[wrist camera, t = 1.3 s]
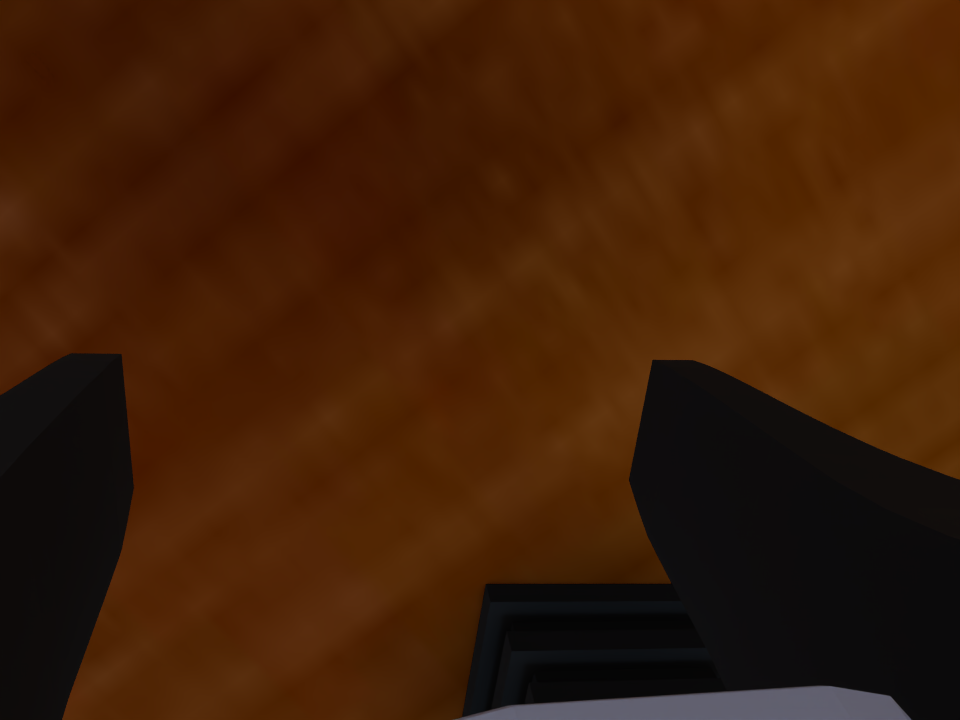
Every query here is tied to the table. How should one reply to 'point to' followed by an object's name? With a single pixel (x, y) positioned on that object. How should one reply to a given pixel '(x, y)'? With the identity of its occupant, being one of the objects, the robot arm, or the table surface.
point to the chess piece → (584, 645)
